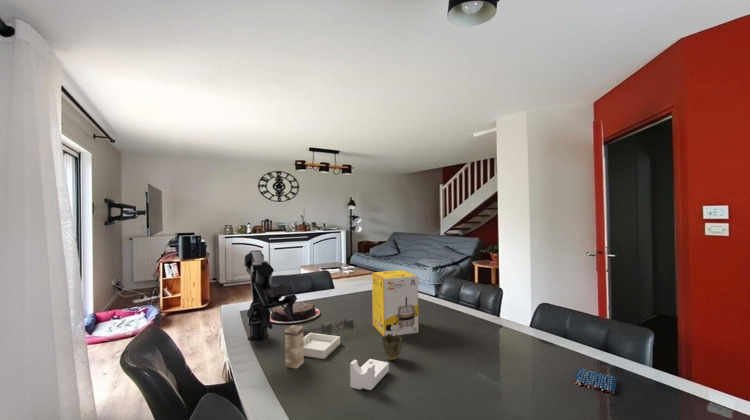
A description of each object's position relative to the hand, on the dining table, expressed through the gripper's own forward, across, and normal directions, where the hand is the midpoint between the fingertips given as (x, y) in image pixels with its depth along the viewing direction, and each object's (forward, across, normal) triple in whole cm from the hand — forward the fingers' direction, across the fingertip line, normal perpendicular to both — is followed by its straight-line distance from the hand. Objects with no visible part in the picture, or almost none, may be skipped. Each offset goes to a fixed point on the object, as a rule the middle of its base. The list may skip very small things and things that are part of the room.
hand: (282, 324), depth 117 cm
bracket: (+34, +9, -15) cm, 38 cm away
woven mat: (+74, +49, -55) cm, 104 cm away
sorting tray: (+11, +14, +7) cm, 19 cm away
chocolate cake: (-18, +34, +37) cm, 53 cm away
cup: (+32, +24, -13) cm, 42 cm away
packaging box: (+20, +50, -1) cm, 54 cm away
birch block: (+14, 0, +4) cm, 14 cm away
